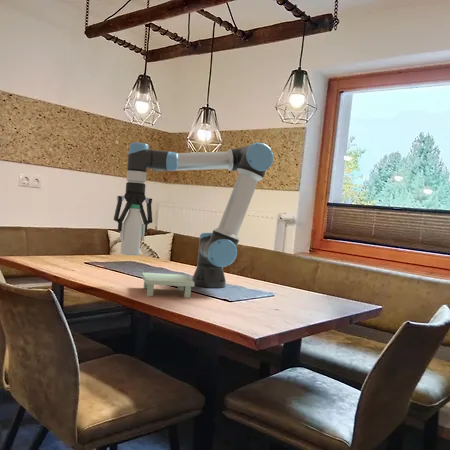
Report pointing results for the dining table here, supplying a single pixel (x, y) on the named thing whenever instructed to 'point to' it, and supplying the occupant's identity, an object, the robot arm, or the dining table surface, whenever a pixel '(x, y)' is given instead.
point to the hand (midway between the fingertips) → (131, 239)
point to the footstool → (167, 282)
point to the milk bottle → (132, 232)
